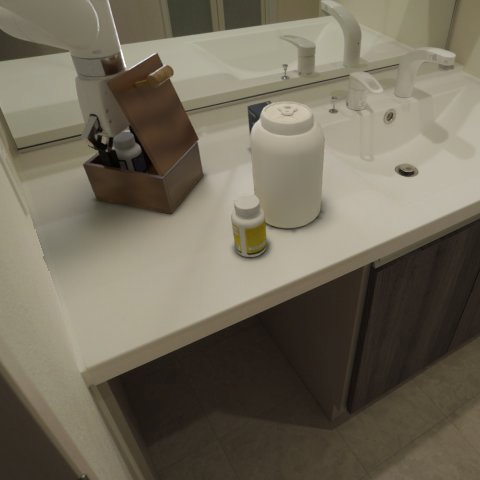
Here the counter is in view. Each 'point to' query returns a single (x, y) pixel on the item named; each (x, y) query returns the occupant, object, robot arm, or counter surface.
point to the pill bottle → (129, 153)
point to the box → (255, 113)
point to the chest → (145, 182)
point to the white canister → (288, 164)
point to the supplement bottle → (249, 226)
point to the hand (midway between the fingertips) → (127, 155)
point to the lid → (154, 111)
